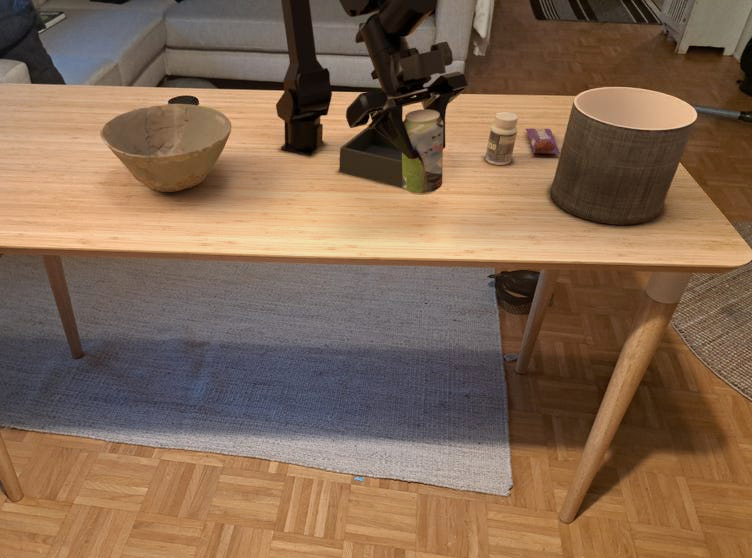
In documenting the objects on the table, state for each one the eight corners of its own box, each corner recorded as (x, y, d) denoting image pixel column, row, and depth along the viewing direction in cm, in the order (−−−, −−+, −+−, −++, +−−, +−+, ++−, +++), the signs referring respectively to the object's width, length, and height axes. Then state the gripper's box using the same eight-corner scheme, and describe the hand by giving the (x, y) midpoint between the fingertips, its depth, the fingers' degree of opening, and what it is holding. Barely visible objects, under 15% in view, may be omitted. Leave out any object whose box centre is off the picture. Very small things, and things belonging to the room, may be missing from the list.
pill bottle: (481, 155, 129) (489, 111, 124) (506, 154, 130) (515, 110, 124) (489, 166, 126) (498, 121, 120) (514, 164, 126) (524, 120, 120)
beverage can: (440, 201, 103) (454, 124, 95) (391, 196, 104) (402, 119, 96) (440, 183, 108) (454, 108, 100) (394, 178, 109) (404, 103, 101)
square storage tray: (339, 171, 125) (339, 147, 122) (371, 145, 133) (372, 122, 130) (405, 188, 120) (407, 163, 117) (434, 160, 128) (437, 136, 125)
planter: (673, 229, 108) (713, 132, 97) (557, 222, 110) (583, 126, 100) (647, 179, 121) (679, 89, 110) (544, 173, 123) (566, 84, 113)
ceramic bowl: (182, 144, 135) (176, 94, 129) (261, 180, 123) (258, 126, 116) (86, 181, 124) (73, 127, 117) (161, 225, 111) (152, 168, 105)
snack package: (526, 123, 136) (551, 124, 135) (523, 133, 137) (549, 134, 136) (534, 147, 127) (562, 148, 126) (532, 157, 128) (559, 158, 128)
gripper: (361, 33, 89) (403, 144, 90) (471, 12, 96) (509, 116, 96) (328, 76, 100) (365, 175, 100) (429, 54, 107) (464, 148, 107)
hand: (427, 153), depth 100 cm, fingers closed on beverage can, 5 cm apart
